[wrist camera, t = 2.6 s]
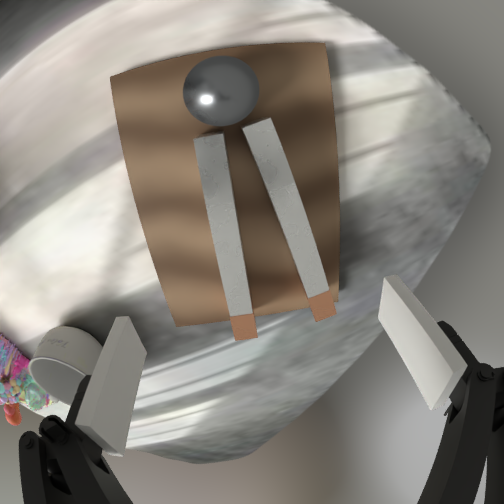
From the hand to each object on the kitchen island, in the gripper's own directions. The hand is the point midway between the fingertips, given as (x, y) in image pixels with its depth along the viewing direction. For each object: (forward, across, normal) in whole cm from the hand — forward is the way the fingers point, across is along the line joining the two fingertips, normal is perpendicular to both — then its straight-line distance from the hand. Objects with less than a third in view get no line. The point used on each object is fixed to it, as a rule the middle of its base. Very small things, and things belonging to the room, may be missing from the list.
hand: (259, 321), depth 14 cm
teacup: (+15, -26, -15) cm, 33 cm away
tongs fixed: (+13, 0, +2) cm, 13 cm away
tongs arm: (+13, +4, 0) cm, 13 cm away
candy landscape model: (+15, -51, -20) cm, 57 cm away
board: (+14, 0, +2) cm, 15 cm away
